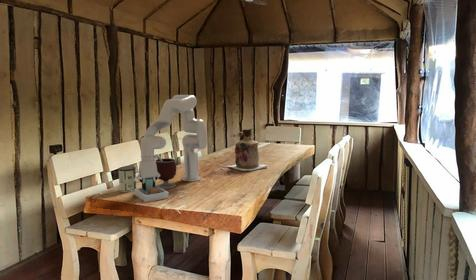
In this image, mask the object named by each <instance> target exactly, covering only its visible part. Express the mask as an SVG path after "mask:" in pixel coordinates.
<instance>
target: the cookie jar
mask: <svg viewBox="0 0 476 280" xmlns="http://www.w3.org/2000/svg"><path fill="white" fill-rule="evenodd" d="M252 135H253V133H252V128H249V129H247V128H246V129H245V128H244V129H242V130H241V131H239V132H238V136H239V137H240V139H239V140H237V141H236V142H235V145H234V146H235V147H234V154H235V156H234V157H235V163H234V164H233V165H226V168H231V169H235V170H237V171H242V172H245V171H249V172H250V171H251V172H252V171H256V170H261V169H267V168H268V164H259V161H260V156H259V148H258V146H259V142H258V141H257V140H254V139H253V138H251V137H252Z"/></svg>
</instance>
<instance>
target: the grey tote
mask: <svg viewBox="0 0 476 280" xmlns="http://www.w3.org/2000/svg"><path fill="white" fill-rule="evenodd" d="M155 187H157V188H159V189H160V193H157V194H151V195H148V191H145V190H143V189H142V187H138V188H137V187H136V189H134V190H135V191H134V195H135V197H137V198H139V199H140V200H141V201H143V202H144V203H148V202H153V201H160V200H165V199H169V198H170V197H169V196H170V195H169V193H170V192H169V191H167V190H165V189H162V188H160V187H159V186H156V185H155Z"/></svg>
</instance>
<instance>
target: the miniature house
mask: <svg viewBox="0 0 476 280" xmlns="http://www.w3.org/2000/svg"><path fill="white" fill-rule="evenodd" d="M136 168H137V167H136V166H132V165H128V166H126V165H125V166H120V167H118V168H117V169H118V181H119V191H120V192H122V193H129V192H130V193H131V192H135V190H134V189H137V179H136V177H137V174H136V172H137V171H136Z"/></svg>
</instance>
